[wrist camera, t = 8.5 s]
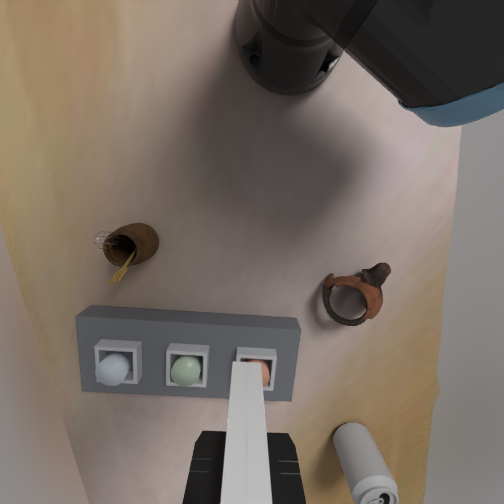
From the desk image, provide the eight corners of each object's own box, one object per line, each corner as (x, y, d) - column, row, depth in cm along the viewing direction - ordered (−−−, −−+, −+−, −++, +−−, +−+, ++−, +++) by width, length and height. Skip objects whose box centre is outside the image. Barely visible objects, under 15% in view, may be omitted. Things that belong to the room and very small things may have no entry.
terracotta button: (242, 356, 40) (242, 364, 38) (269, 358, 41) (270, 366, 39) (240, 379, 41) (240, 388, 39) (267, 381, 42) (268, 390, 40)
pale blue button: (102, 351, 39) (94, 360, 37) (130, 353, 39) (124, 361, 37) (103, 375, 40) (96, 385, 38) (131, 377, 40) (125, 386, 38)
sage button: (174, 352, 40) (170, 360, 38) (201, 354, 40) (199, 362, 38) (174, 376, 41) (170, 385, 39) (201, 377, 41) (198, 386, 39)
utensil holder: (150, 216, 40) (111, 225, 28) (166, 252, 41) (136, 275, 30) (117, 229, 40) (64, 243, 29) (134, 264, 42) (91, 291, 30)
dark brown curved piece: (361, 321, 46) (355, 343, 39) (318, 288, 49) (306, 303, 42) (408, 271, 40) (411, 287, 33) (357, 238, 43) (350, 246, 36)
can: (369, 445, 52) (405, 518, 40) (333, 451, 52) (359, 526, 40) (366, 415, 50) (402, 483, 38) (329, 422, 50) (354, 492, 38)
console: (91, 305, 43) (66, 322, 37) (296, 318, 45) (303, 336, 39) (96, 374, 46) (74, 400, 40) (287, 384, 48) (293, 411, 42)
